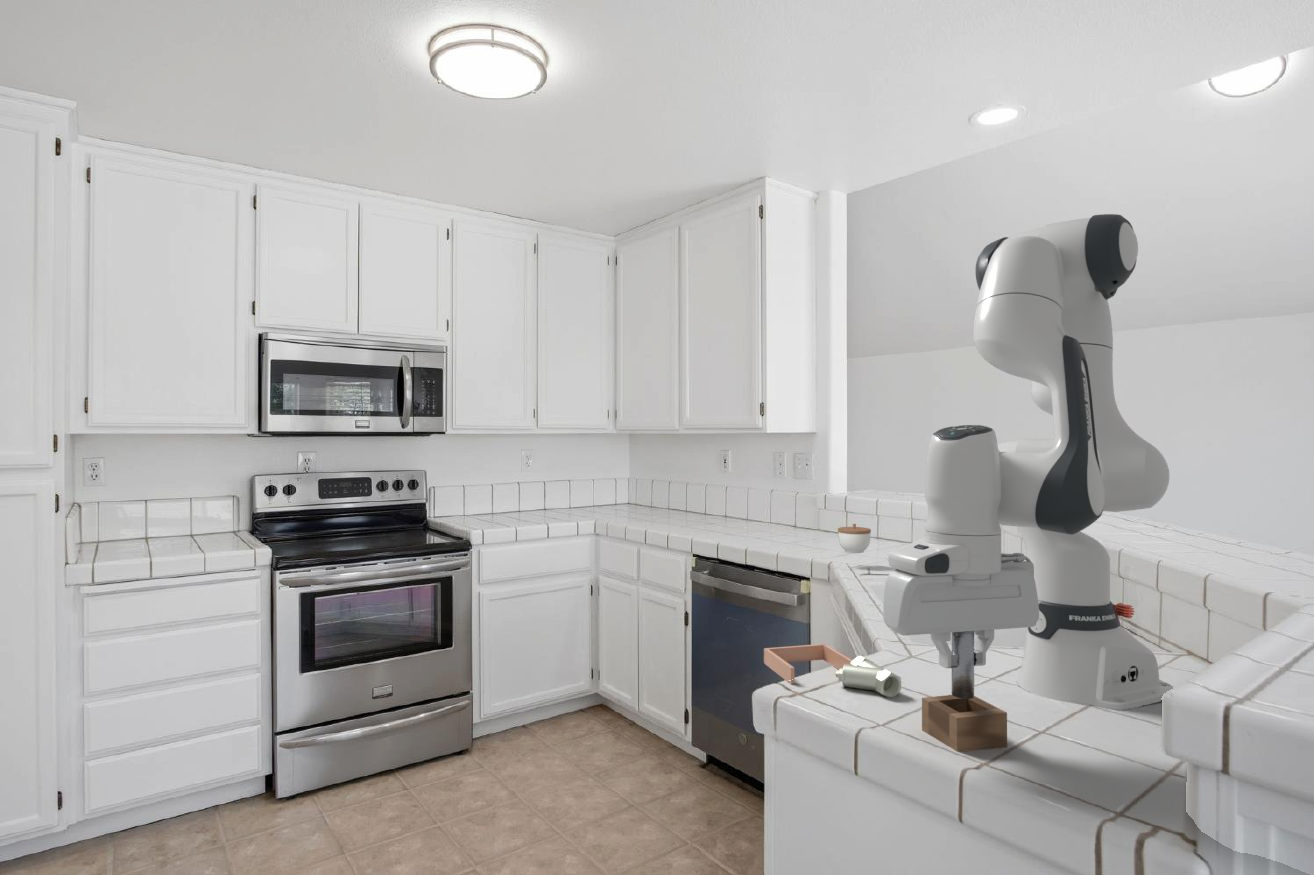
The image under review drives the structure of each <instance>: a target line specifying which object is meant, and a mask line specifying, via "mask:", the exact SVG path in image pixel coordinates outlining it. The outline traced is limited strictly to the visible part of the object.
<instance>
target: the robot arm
mask: <svg viewBox="0 0 1314 875" xmlns="http://www.w3.org/2000/svg"><path fill="white" fill-rule="evenodd" d="M1134 230H1135V229H1134V228H1133V225H1132V223H1131V222H1130V221H1129V220H1128V219H1126V218H1125V217H1124V216H1123V215H1121V214H1117V213H1116V214H1115V213H1111V214H1110V213H1108V214H1107V213H1104V214H1094V215H1092V216H1091V217H1088V218H1086V217H1085V218H1079V219H1070V220H1065V221H1060V222H1054V223H1050V224H1046V225H1045V226H1043V227H1039V228H1035V229H1031V230H1028V231H1024V232H1022V233H1019V234H1015V235H1013V236H1010V237H1008V236H1006V237H1004V236H1003V237H1002V238H999V239H996V240H995V241H993V242H990V243H989V244H987V245H986V246H985V247H984V248H983V249H982V251H981V252H980V254H979V255H978V257H977V259H976V263H975V280H976V284H977V287H978V290H979V293H978V298H977V304H976V308H975V314H974V319H973V320H974V321H973V328H972V329H973V330H972V331H973V332H972V333H973V342H974V346H975V348H976V350H977V351H978V354H980V356H981V357H982V358H983V359H984V360H985V361H986V363H988V364H990V365H991V366H992V367H994V368H996V369H998V370H1000V371H1002V372H1004V373H1006V374H1009V375H1011V376H1013V377H1014V376H1015V377H1018V378H1021V379H1025V380H1027V381H1031V384H1030V395H1031V398H1032V401H1033V402H1034V404H1035V405H1036V406H1037V407H1038V408H1039V409H1040V410H1042V411H1043V412H1045V413H1047V414H1050V415H1051V416H1052V420H1053V431H1054V432H1053V433H1054V438H1021V439H1015V440H1009V441H1004V442H1000V443H998V440H997V435H996V432H995V429H993V428H991V427H989V426H986V425H980V424H968V425H967V424H966V425H965V424H963V425H956V426H949V427H943V428H941V429H938V430H936V431H935V432H933V433H932V434H931V437H930V439H929V443H928V447H927V452H926V453H927V454H926V462H925V471H924V472H925V475H924V477H925V479H924V498H925V500H926V504H927V505H926V506H927V510H928V511H927V518H926V521H925V525H924V537H922V538H920V539H917V540H916V541H912V542H910V543H908V544H906V545H903V546H901V547H898V548H896V549H892V550H891V551H890V552H889V553H888V556H887V557H888V558H887V559H888V560H887V561H888V565H889V567H890V568H893V569H894V570H892V571H891V572H889V574H888V575H887V577H886V580H885V585H884V592H883V593H884V594H883V605H882V606H883V613H882V614H883V615H882V616H883V622H884V624H885V625H886V627H887V628H888V629H889V631H892V632H894V633H895V634H899V635H901V636H917V635H930V638H931V640H932V643H933V645H934V646H935V648H936V650H937V651H938V663H939V666H940V667H942V668H945V669H952V668H956V667H958V662H957V660H958V654H956V653H954V652H952V649H950V646H949V644H948V642H951V641H952V632H966V631H974V636H975V635H976V637H975V639H974V667H981V666H986V662H987V652H988V650H989V649H990V648H991V647H990V646H991V645H992V643H993V641H994V640H995V631H996V630H1007V629H1022V628H1023V629H1024V628H1027V630H1026V635H1025V641H1024V642H1025V643H1024V649H1023V657H1022V663H1021V665H1020V671H1019V673H1018V674H1019V675H1018V677H1017V679H1016V680H1017V681H1016V682H1017V685H1018V686H1019V687H1020V688H1021V689H1023V690H1024V691H1027V692H1028V693H1031V694H1034V696H1035V695H1036V696H1038V697H1042V698H1045V699H1050V700H1054V701H1059V702H1063V703H1064V702H1065V703H1070V704H1078V705H1084V706H1085V705H1087V706H1093V707H1098V708H1103V709H1107V710H1114V711H1124V710H1125V709H1126V710H1128V709H1127V708H1131V709H1134V708H1133V707H1136V708H1139V707H1144V706H1147V705H1152V704H1157V703H1160V702H1162V701H1161V698H1162V696H1163V694H1164V693H1166V692H1167V691H1169V690H1171V689H1173V687H1174V685H1171V684H1169V683H1168V682H1166V681H1163V680H1162V679H1160V672H1159V664H1158V661H1157V657H1156V655H1155V654H1154V652H1153V651H1152V650H1151V649H1150V648H1149V647H1147V646H1146V645H1145V644H1143V643H1142V642H1141V641H1139V640H1138V639H1137V638H1135V637H1134V636H1133V635H1132V634H1130V633H1129V632H1128V631H1127V630H1125V628H1123V627H1122V626H1121V621H1120V618H1119V617H1122V618H1126V619H1132V618H1133V617H1134V615H1135V612H1136V611H1135V608H1133V606H1132V605H1129V604H1124V603H1122V602H1118V603H1116V604H1114V603H1113V602H1112V601H1111V561H1110V560H1111V558H1110V556H1109V553H1108V552H1109V551H1108V550H1107V549H1106V547H1104V545H1103V544H1102V543H1100V542H1099V540H1097V539H1095V538H1094V537H1091V536H1090V535H1089V534H1087V533H1084V532H1082V531H1083V530H1085V529H1086V528H1088V527H1089V526H1091V525H1092V524H1094V523H1095V522H1096V521H1097V520H1098V519H1099V518H1101V516H1102V515H1103V512H1108V513H1109V512H1110V513H1113V512H1114V513H1119V512H1128V511H1129V512H1130V511H1136V510H1145V509H1150V508H1152V507H1154V506H1156V504H1158V503H1159V501H1160V500H1162V498H1163V497H1164V495H1166V492H1167V490H1168V487H1169V483H1170V469H1169V466H1168V462H1167V461H1166V459H1165V457H1164V455H1163V454H1162V453H1161V451H1160V450H1159V449H1158V448H1157V447H1156V446H1154V445H1152V443H1150V442H1148V441H1146V440H1145V439H1144V438H1143V437H1141V436H1139V435H1138V434H1137V433H1136V432H1135V431H1134V430H1133V429H1132V428H1131V426H1129V425H1128V423H1127V422H1126V421H1125V419H1124V417H1123V416H1122V414H1121V412H1120V410H1119V408H1118V405H1117V401H1116V398H1115V389H1114V374H1113V370H1114V368H1113V358H1114V357H1113V355H1114V352H1113V350H1114V348H1113V346H1114V344H1113V342H1114V341H1113V339H1114V338H1113V335H1114V334H1113V324H1112V316H1111V311H1110V310H1111V309H1110V306H1109V301H1108V300H1109V299H1111V298H1113V297H1114V296H1115V294H1117V292H1118V289H1119V288H1120V287H1121V286H1122V285H1124V284H1125V283H1126V282H1127V281H1128V279H1129V278H1130V276H1132V274H1133V272H1134V270H1135V268H1136V264H1137V258H1138V254H1139V242H1138V238H1137V236H1136V235H1137V234H1136V232H1135V231H1134ZM1001 526H1009V527H1017V528H1018V530H1019V532H1020V535H1021V537H1022V541H1023V543H1024V547H1025V553H1026V556H1025V554H1024V553H1022V552H1014V553H1002V527H1001ZM1156 701H1157V702H1156ZM1143 705H1144V706H1143Z"/></svg>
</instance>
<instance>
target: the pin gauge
mask: <svg viewBox="0 0 1314 875" xmlns="http://www.w3.org/2000/svg"><path fill="white" fill-rule="evenodd" d="M974 642H975V634H974V631H966V632H951V651H952V652H954V653H956V654H958V660H957V662H958V667H956V668H951V695H953V696H955V697H958V698H963V699H971V698H974V696H975V666H974Z"/></svg>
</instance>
